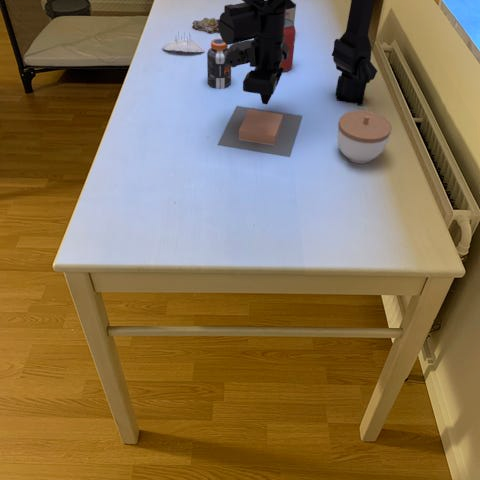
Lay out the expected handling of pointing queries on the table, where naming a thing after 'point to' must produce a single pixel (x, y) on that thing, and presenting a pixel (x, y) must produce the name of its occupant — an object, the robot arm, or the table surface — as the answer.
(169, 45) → the pincushion
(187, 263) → the table surface
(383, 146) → the lidded jar
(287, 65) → the beer can
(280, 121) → the tile
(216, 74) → the pill bottle
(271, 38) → the robot arm
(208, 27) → the mineral rock
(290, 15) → the skincare box
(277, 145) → the mat
